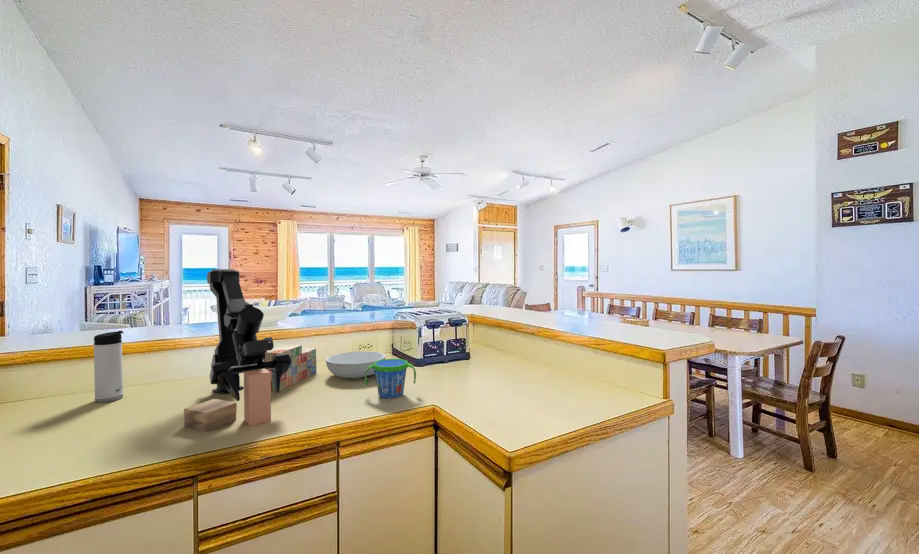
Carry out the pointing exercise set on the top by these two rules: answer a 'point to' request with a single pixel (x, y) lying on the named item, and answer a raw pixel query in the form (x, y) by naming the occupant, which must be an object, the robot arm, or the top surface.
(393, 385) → the snack cup
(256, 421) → the pillar
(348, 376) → the serving bowl
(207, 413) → the tower top
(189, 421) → the tower base
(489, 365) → the top surface
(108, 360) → the travel mug
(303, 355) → the stack of blocks
